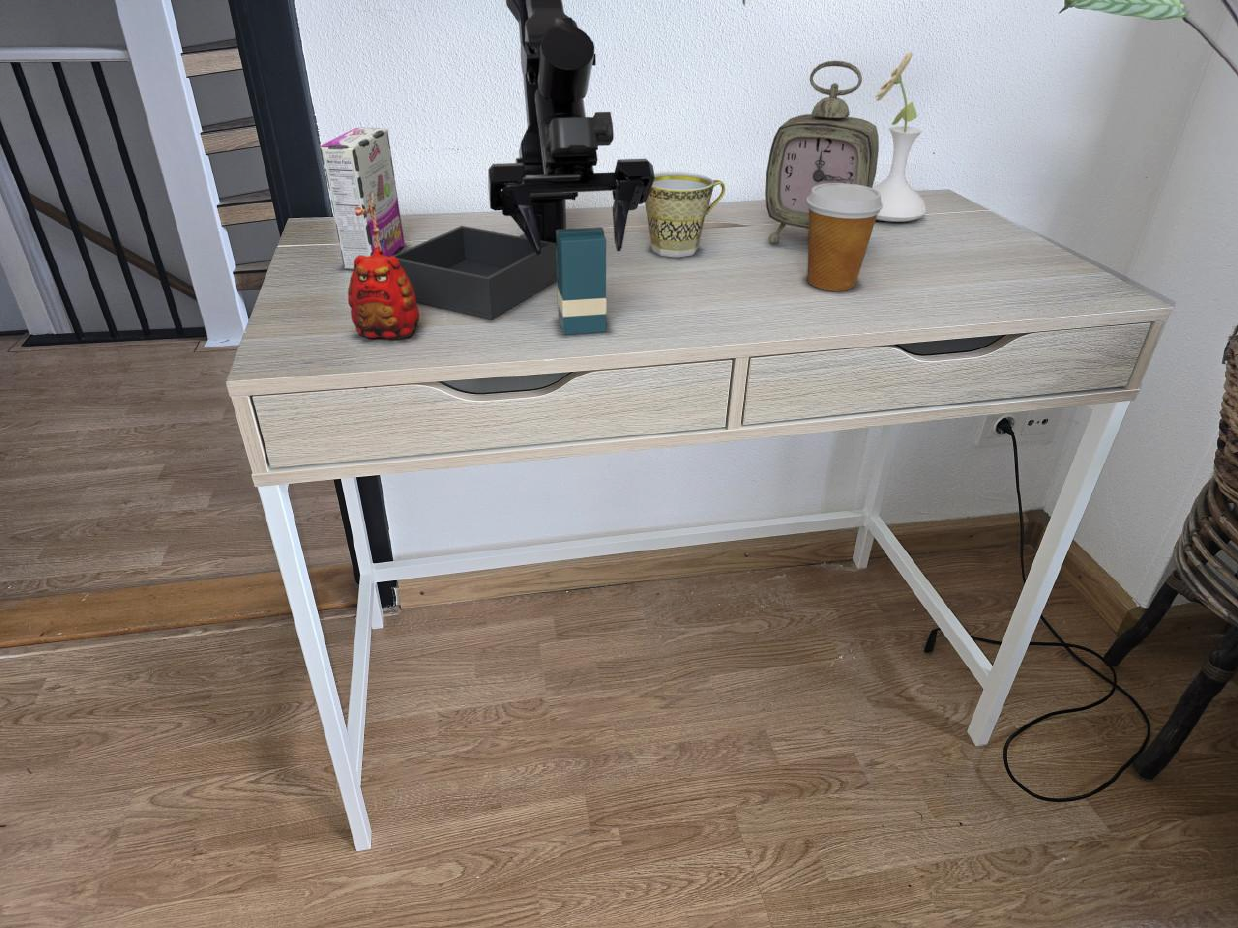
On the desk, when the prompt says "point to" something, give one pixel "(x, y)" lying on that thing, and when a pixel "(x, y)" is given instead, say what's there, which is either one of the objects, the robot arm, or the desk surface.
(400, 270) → the red clay folk toy
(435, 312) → the desk surface
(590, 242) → the teal gift box
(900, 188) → the flower in vase
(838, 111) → the tabletop clock
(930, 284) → the desk surface
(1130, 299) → the desk surface
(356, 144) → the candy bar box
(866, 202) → the disposable coffee cup
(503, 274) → the dark grey open box
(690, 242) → the ceramic cup
